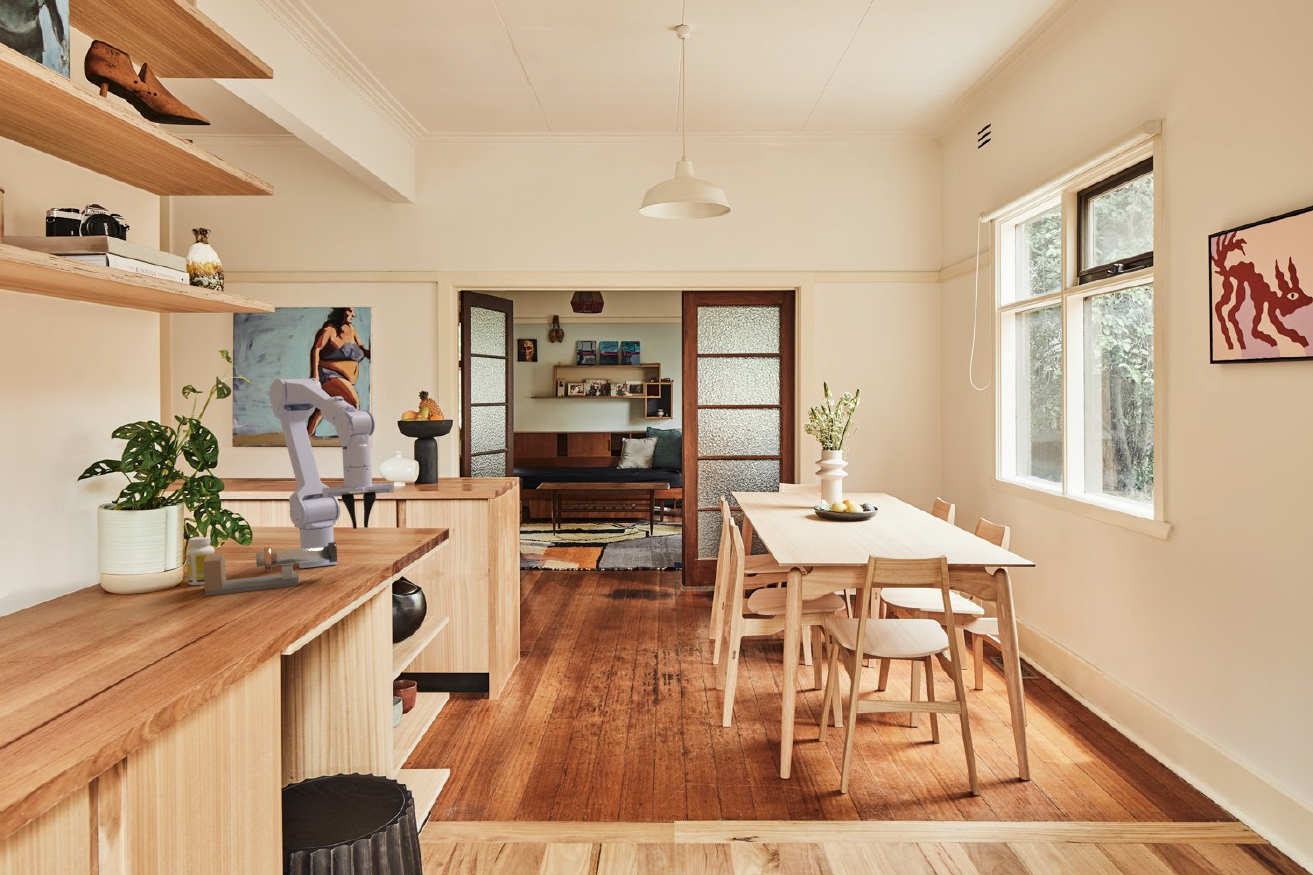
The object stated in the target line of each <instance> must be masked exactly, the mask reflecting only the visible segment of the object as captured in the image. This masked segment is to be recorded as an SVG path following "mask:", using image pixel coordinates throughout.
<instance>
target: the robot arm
mask: <svg viewBox="0 0 1313 875" xmlns="http://www.w3.org/2000/svg"><path fill="white" fill-rule="evenodd" d="M268 393H269V394H268V396H269V400H270V403H271V406H272V407H271V408H272V411H273V414H274V417H276V419H279V422H280V426H281V429H282V433H283V436H284V439H285V440H284V441H285V444H286V448H287V451H288V455H289V459H290V463H291V466H292V470H293V474H294V479H295V481H296V487H297V489H295V491H294V492H292V494H291V495H290V497H289V498H288V503H289V516H290V520H291V523H293V525H294V526H295V527H296V528H297V529H299V541H300V542H299V544H300V549H302V548H312V547H322V546H328V543H330V542H335V540H334V525H336V521H337V520H339V518H340V515H341V510H342V508H341V504H340V500H338V499H337V498H338V497H341V500H342V502H343V504H344V505H345V508H346V510H347V512H348V514H349V516H350V519H351V522H352V529H353V530H354V529H355V530H357V528H358V526H357V519H356V504H355V503H356V502H355V501H356V500H355V496H361V495H362V500H363V501H362V502H363V528H364V529H365V528H366V529H368V528H369V519H370V515H371V512H372V509H373V506H374V503H375V501H376V498H377V494H387V493H390V494H394V493H395V492H394V491H395V490H394V483H393V482H391V483H389V482H388V483H373V477H372V459H371V438H370V437H371V436H372V435H373V434H374V432H375V428H376V425H375V418H374V415H373V414H372V413H371V412H370V411H369V410H367V409H362V410H358V409H356V408H355V406H354V405H351V404H350V403H348V402H347V401H346V400H344V397H342V396H341V395H338V396H330V395H329V394H328V393H327V392H326V391H325V390H324V389H322V384H321V382H320V381H319V380H317V379H316V378H314V377H310V378H283V379H282V378H275V379H273V381H272V382H271V385H270V388H269V392H268ZM315 409H318V410H320V414H321V416H322V418H323V419H324V420H326V421H327V422H328V423H329V424H331V425H333V427H335V431H336V434H337V436H338V441H339V442H338V443H339V445H340V446H341V448H342V451H341V452H342V466H343V467H342V468H343V470H342V471H343V485H341V486H340V485H339V486H332V487H330V486H328V485H326V484H324V483H323V482H322V481H321V477H320V473H319V469H318V466H317V462H316V458H315V454H314V451H313V448H312V443H311V440H310V437H309V432H308V429H307V425H306V418H308V417H310V416H312V415H313V413H314V411H315ZM335 565H338V561H337V562H334V563H329V560H322V561H312V562H303V563H299V566H298V567H299V569H305V568H315V567H316V568H317V567H324V566H325V567H326V566H335Z"/></svg>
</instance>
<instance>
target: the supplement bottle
mask: <svg viewBox="0 0 1313 875" xmlns="http://www.w3.org/2000/svg"><path fill="white" fill-rule="evenodd" d="M203 536H204V535H202V537H201V536H193V537H190V538H189V539H188V545H189V546H190V548H188V549H187V550H186V552H185V553H186V554H185V555H186V567H187V568H186V570H187V582H188V585H190V586H203V585H204V586H205V580H204V565H203V562H204V560H205V558H206V557H207V555H208V554H214V553H216V550H215V548H214V547H213V546H212V545H211V543H212V542H211V536H208V535H205V536H206V537H205V538H204V537H203Z"/></svg>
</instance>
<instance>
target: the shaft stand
mask: <svg viewBox="0 0 1313 875" xmlns="http://www.w3.org/2000/svg"><path fill="white" fill-rule="evenodd" d="M225 555H226V554H225V552H218V553H217V552H215V553H214V554H208V555H207V557H206V558H205V560H204V562H203V565H204V580H205V585H204V593H205V597H209V596H217V595H218V596H219V595H226V594H227V595H228V594H237V593H245V592H254V591H262V590H270V589H279V588H281V589H282V588H288V587H298V586H299V580H300V574H299V572H294V569H293V567H294V566H293V564H294V563H293V564H283V565H281V574H275V575H264V576H255V577H247V578H246V577H244V578H235V579H227V572H226V571H227V570H226V558H225Z"/></svg>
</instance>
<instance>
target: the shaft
mask: <svg viewBox="0 0 1313 875" xmlns="http://www.w3.org/2000/svg"><path fill="white" fill-rule="evenodd" d="M263 549H264V550H263V551H261V552H256V553H255V559H256V561H255V562H256V567H257V568H263V567H264V571H265V572H269V571H273V566H282V565H284V564H300V563H303V562H312V561H322V560H329V563H334V562H337V563H338V550H337V549H338V548H337V542H336V541H334V542H330V543H328V546H322V547H312V548H302V549H301V548H293V549H283V550H272V546H265V547H264V548H263Z"/></svg>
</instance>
